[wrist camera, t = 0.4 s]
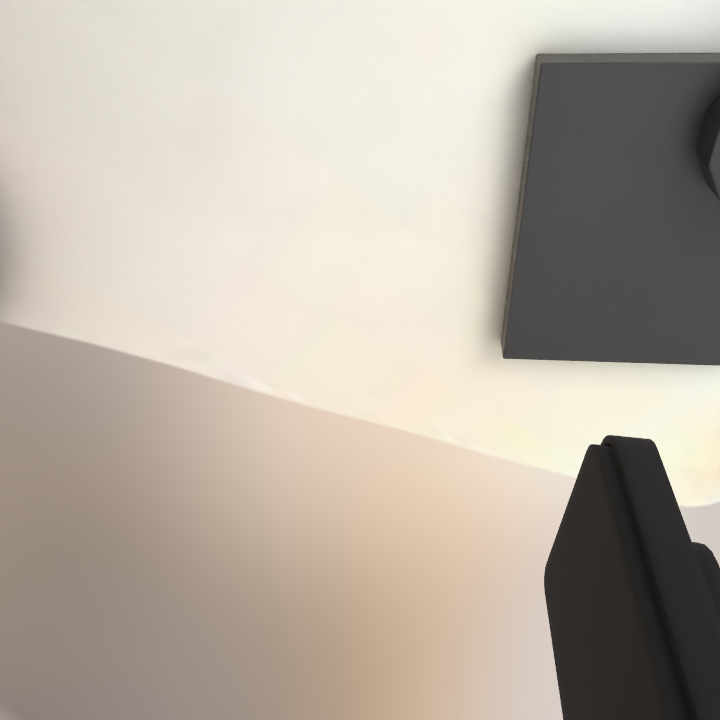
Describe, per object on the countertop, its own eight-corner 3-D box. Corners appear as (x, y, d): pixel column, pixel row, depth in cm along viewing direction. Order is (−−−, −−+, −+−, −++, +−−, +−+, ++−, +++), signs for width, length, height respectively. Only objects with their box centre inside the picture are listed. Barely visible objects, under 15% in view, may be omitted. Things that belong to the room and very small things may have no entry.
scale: (538, 38, 26) (548, 58, 24) (883, 35, 25) (929, 56, 23) (500, 342, 35) (505, 379, 33) (755, 350, 34) (778, 388, 32)
